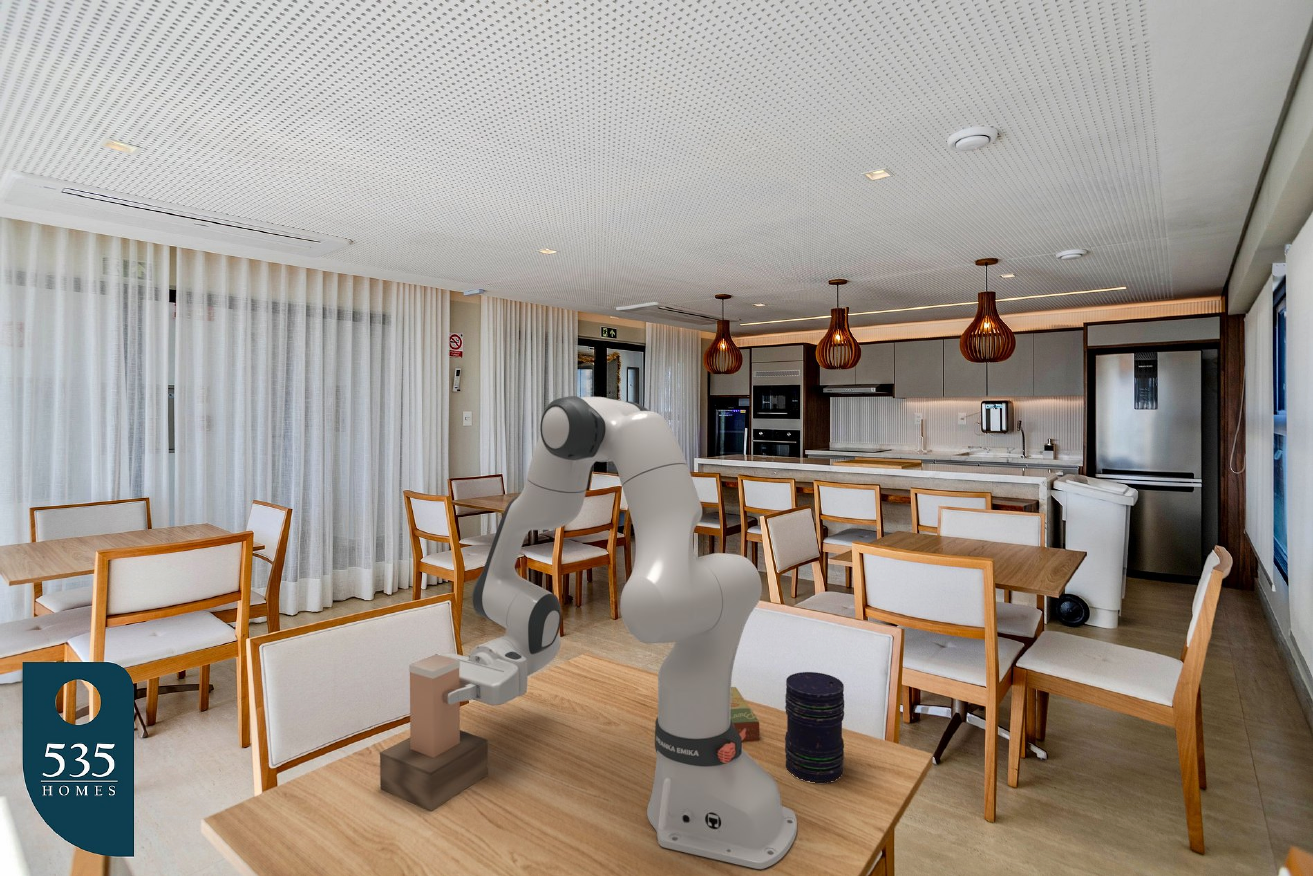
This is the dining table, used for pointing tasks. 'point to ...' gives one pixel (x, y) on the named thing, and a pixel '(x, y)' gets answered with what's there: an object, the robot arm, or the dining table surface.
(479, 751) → the wooden block
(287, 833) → the dining table surface
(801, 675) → the storage jar
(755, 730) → the carton
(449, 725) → the tall carton
